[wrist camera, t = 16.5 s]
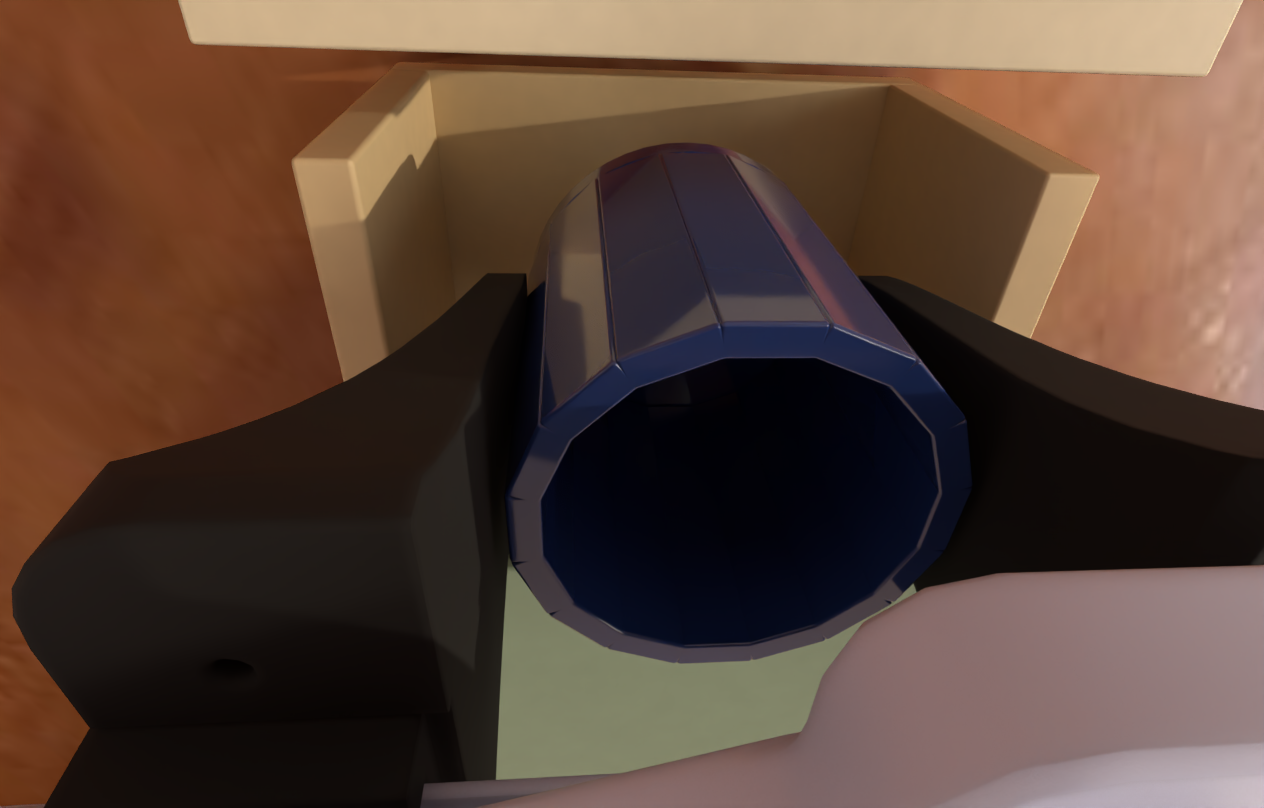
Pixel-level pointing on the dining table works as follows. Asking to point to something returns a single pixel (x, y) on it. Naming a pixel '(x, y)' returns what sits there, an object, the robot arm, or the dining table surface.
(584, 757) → the cabinet
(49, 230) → the dining table surface
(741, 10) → the drawer
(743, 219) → the cup
